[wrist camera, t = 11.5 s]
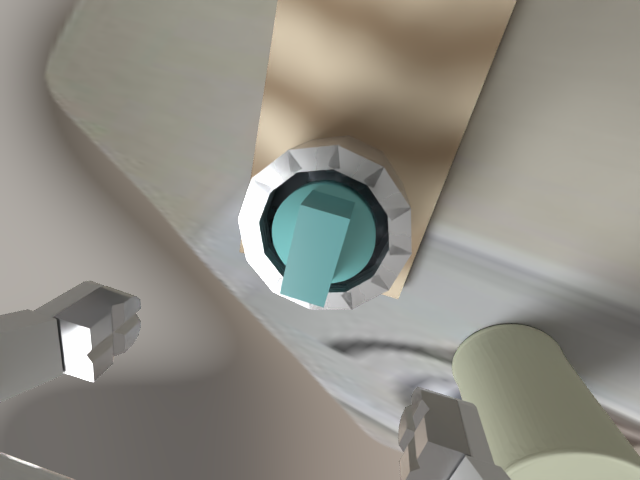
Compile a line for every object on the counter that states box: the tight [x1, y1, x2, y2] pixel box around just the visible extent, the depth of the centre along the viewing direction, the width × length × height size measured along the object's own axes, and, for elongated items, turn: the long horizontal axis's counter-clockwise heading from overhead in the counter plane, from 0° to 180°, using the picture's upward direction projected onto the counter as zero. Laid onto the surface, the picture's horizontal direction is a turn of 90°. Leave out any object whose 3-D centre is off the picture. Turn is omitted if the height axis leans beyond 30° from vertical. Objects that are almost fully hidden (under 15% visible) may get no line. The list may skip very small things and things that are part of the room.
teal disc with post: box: [272, 180, 376, 308], centre depth 18 cm, size 6×6×4 cm
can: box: [452, 324, 640, 480], centre depth 24 cm, size 9×9×12 cm
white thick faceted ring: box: [238, 135, 412, 310], centre depth 22 cm, size 10×10×7 cm
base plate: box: [240, 0, 517, 299], centre depth 23 cm, size 25×14×2 cm, turn 167°
